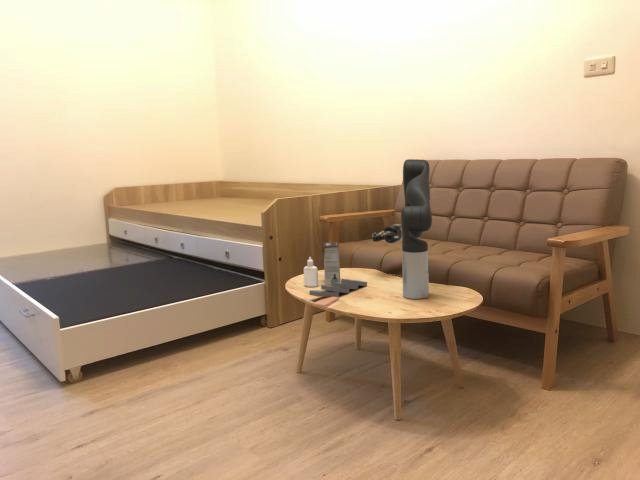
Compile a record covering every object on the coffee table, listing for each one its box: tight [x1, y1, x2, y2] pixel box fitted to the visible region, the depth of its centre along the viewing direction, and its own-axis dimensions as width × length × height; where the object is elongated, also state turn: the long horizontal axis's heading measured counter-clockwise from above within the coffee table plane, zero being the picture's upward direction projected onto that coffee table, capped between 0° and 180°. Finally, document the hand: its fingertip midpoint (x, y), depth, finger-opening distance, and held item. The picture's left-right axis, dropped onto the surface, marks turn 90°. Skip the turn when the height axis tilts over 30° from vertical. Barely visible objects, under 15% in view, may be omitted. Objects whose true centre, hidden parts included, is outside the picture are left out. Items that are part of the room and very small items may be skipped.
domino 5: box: [340, 278, 368, 287], centre depth 210 cm, size 2×5×10 cm
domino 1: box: [320, 284, 351, 294], centre depth 201 cm, size 2×5×10 cm
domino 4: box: [330, 282, 359, 290], centre depth 206 cm, size 2×5×10 cm
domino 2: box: [309, 289, 340, 298], centre depth 197 cm, size 2×5×10 cm
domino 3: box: [312, 296, 340, 309], centre depth 192 cm, size 2×5×10 cm
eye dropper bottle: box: [303, 256, 319, 288], centre depth 214 cm, size 4×6×12 cm
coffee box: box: [323, 241, 341, 286], centre depth 219 cm, size 9×6×16 cm
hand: (374, 239), depth 219 cm, fingers closed
